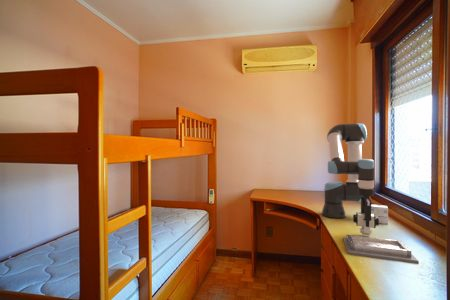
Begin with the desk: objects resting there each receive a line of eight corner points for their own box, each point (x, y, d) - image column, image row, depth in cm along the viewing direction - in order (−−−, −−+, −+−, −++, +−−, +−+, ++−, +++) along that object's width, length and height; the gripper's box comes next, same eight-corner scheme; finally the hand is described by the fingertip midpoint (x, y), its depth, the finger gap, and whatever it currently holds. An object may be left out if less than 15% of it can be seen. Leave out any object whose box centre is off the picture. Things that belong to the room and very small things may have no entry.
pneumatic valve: (353, 231, 133) (353, 209, 133) (378, 234, 127) (378, 212, 127) (353, 234, 128) (353, 212, 128) (378, 238, 122) (379, 215, 122)
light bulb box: (387, 222, 153) (387, 205, 153) (388, 225, 147) (388, 207, 147) (368, 219, 158) (368, 203, 158) (368, 222, 152) (368, 205, 152)
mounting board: (342, 238, 124) (342, 237, 124) (402, 245, 115) (402, 243, 115) (348, 253, 106) (348, 251, 106) (418, 263, 97) (418, 261, 97)
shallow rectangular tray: (346, 239, 121) (346, 234, 121) (401, 245, 113) (401, 240, 112) (350, 249, 109) (350, 243, 109) (411, 257, 101) (411, 251, 101)
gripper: (355, 184, 137) (354, 224, 137) (361, 190, 120) (361, 235, 120) (369, 185, 134) (369, 225, 135) (378, 191, 117) (378, 237, 117)
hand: (365, 230), depth 127 cm, fingers closed on pneumatic valve, 5 cm apart
